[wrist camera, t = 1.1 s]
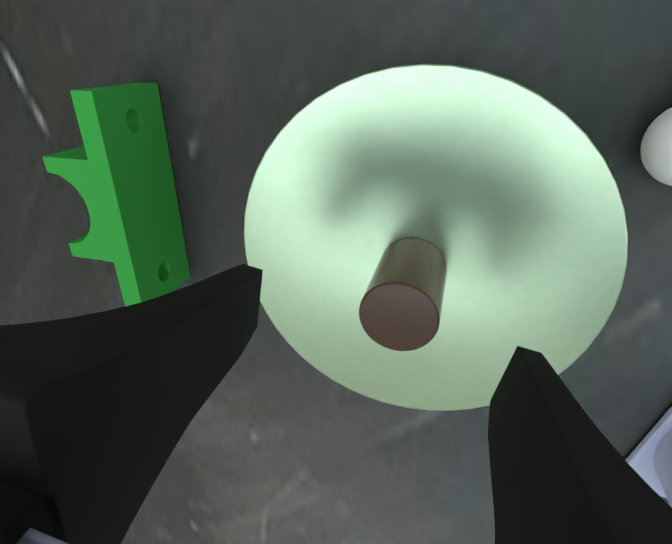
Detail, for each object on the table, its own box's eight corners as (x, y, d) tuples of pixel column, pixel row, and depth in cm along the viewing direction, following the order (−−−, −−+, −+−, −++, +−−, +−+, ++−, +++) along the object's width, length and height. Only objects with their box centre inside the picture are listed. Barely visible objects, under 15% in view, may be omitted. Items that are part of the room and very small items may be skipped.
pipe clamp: (98, 80, 23) (21, 87, 19) (159, 82, 22) (91, 89, 18) (139, 270, 28) (85, 305, 24) (190, 277, 27) (142, 315, 24)
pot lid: (714, 128, 13) (817, 165, 9) (517, 435, 19) (527, 532, 15) (281, 16, 14) (209, 6, 11) (239, 332, 21) (186, 395, 17)
